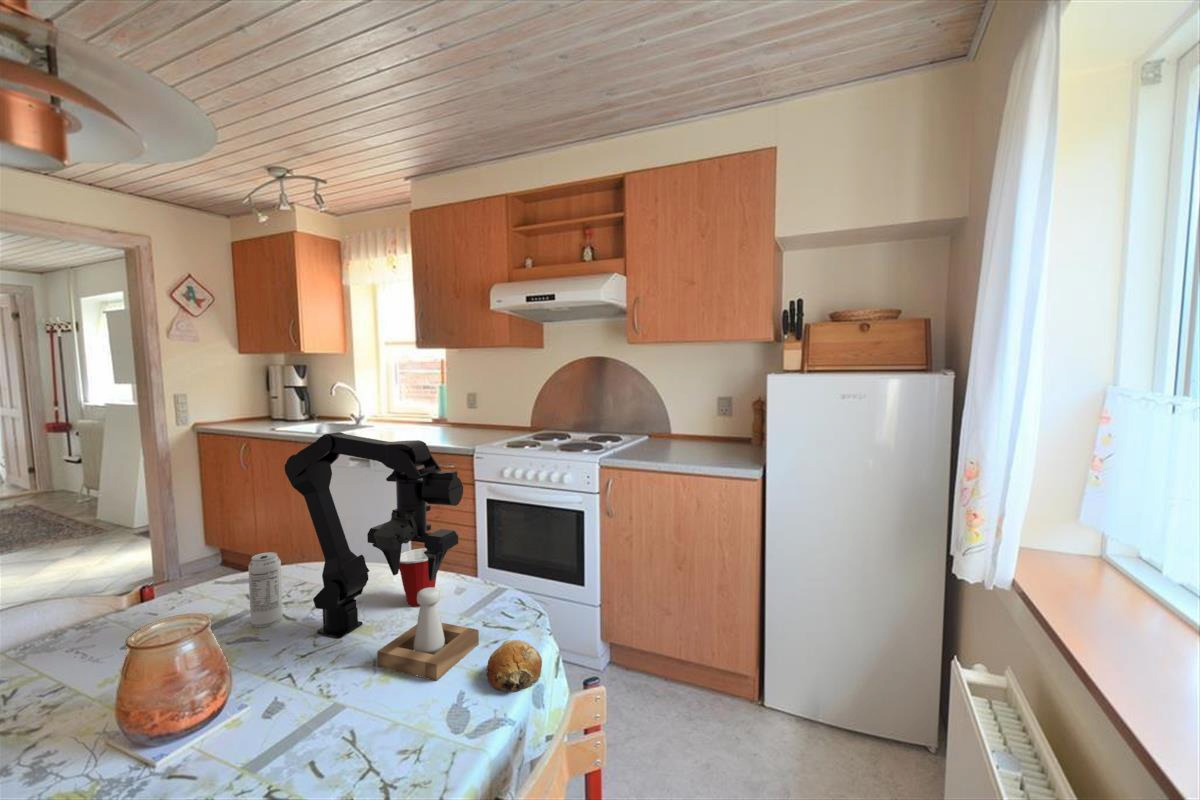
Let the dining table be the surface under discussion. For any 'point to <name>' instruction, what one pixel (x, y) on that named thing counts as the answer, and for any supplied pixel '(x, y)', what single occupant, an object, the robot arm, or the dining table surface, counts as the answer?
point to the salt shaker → (429, 622)
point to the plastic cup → (414, 574)
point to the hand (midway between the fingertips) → (413, 577)
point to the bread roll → (514, 666)
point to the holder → (423, 664)
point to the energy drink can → (265, 589)
